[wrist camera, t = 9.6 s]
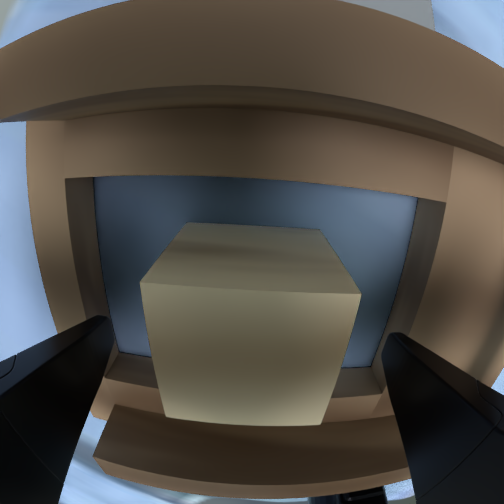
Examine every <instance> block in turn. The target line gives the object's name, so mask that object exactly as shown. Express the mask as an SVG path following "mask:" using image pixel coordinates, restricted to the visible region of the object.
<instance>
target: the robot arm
mask: <svg viewBox="0 0 504 504" xmlns="http://www.w3.org/2000/svg"><path fill="white" fill-rule="evenodd" d="M113 345H114V333H113V329H112V325H111V320H110V318H109V317H108V316H103V315H96V316H94V317H92V318H90V319H87V320H85V321H83V322H81V323H79V324H77V325H75V326H73V327H71V328H69V329H67V330H65V331H63V332H61V333H59V334H57V335H54V336H52V337H50V338H48V339H46V340H44V341H42V342H40V343H38V344H36V345H34V346H32V347H30V348H28V349H26V350H24V351H22V352H20V353H18V354H17V355H14V356H12V357H10V358H8V359H5V360H3V361H1V362H0V504H58V502H59V499H60V495H61V492H62V489H63V485H64V484H63V483H64V481H65V478H66V475H67V472H68V469H69V466H70V463H71V460H72V457H73V454H74V451H75V449H76V446H77V443H78V440H79V437H80V435H81V432H82V429H83V427H84V424H85V422H86V419H87V416H88V414H89V411H90V409H91V406H92V404H93V402H94V399H95V397H96V394H97V392H98V390H99V387H100V385H101V382H102V380H103V377H104V374H105V370H106V367H107V364H108V361H109V357H110V354H111V351H112V348H113ZM381 360H382V365H383V369H384V374H385V379H386V384H387V389H388V394H389V398H390V401H391V405H392V408H393V411H394V415H395V418H396V421H397V425H398V428H399V432H400V436H401V439H402V443H403V447H404V451H405V454H406V458H407V462H408V467H409V471H410V475H411V479H412V484H413V488H414V493H415V498H416V500H417V501H416V504H504V395H502V394H500V393H499V392H497V391H495V390H493V389H492V388H490V387H488V386H487V385H485V384H483V383H482V382H480V381H479V380H476V378H474V377H472V376H471V375H469V374H468V373H466V372H464V371H463V370H461V369H460V368H458V367H456V366H455V365H453V364H452V363H450V362H448V361H447V360H445V359H444V358H442V357H440V356H439V355H437V354H436V353H434V352H432V351H431V350H429V349H427V348H426V347H424V346H423V345H421V344H419V343H418V342H416V341H415V340H413V339H411V338H410V337H408V336H406V335H405V334H403V333H402V332H391V333H389V334H388V336H387V339H386V341H385V344H384V347H383V349H382V352H381ZM308 504H388V501H387V497H386V493H385V487H384V486H379V487H375V488H370V489H365V490H360V491H354V492H348V493H341V494H334V495H326V496H316V497H308Z"/></svg>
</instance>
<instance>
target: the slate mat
mask: <svg viewBox="0 0 504 504" xmlns="http://www.w3.org/2000/svg"><path fill="white" fill-rule="evenodd" d="M339 1H344V2H348V3H352V4H357V5H360V6H364V7H368V8H372V9H375V10H378V11H382V12H385V13H388V14H391V15H394V16H397V17H400V18H403V19H406V20H408V21H411V22H414V23H416V24H419V25H421V26H424V27H426V28H429V29H431V30H433V31H435V26H434V17H433V10H432V3H431V0H339Z"/></svg>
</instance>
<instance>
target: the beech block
mask: <svg viewBox="0 0 504 504" xmlns="http://www.w3.org/2000/svg"><path fill="white" fill-rule="evenodd" d="M140 289H141V296H142V303H143V310H144V316H145V322H146V328H147V334H148V340H149V345H150V350H151V355H152V360H153V365H154V370H155V374H156V379H157V383H158V387H159V392H160V396H161V400H162V404H163V408H164V411H165V415H166V417H170V418H177V419H184V420H192V421H200V422H209V423H220V424H234V425H254V426H305V425H320V424H321V422H322V419H323V417H324V414H325V411H326V409H327V406H328V403H329V401H330V398H331V395H332V392H333V390H334V387H335V384H336V381H337V378H338V375H339V372H340V369H341V366H342V363H343V360H344V356H345V353H346V350H347V347H348V343H349V340H350V336H351V333H352V329H353V326H354V322H355V318H356V315H357V311H358V307H359V303H360V299H361V295H362V294H361V292H360V290H359V289H358V287H357V286H356V284H355V282H354V281H353V279H352V278H351V276H350V274H349V273H348V271H347V270H346V268H345V267H344V265H343V264H342V262H341V260H340V259H339V257H338V256H337V254H336V253H335V251H334V250H333V248H332V247H331V245H330V244H329V242H328V241H327V239H326V238H325V236H324V235H323V233H322V232H321V230H320V229H305V228H289V227H273V226H255V225H236V224H215V223H192V222H187V223H186V224H185V225H184V226H183V228H182V229H181V230H180V231H179V232H178V234H177V235H176V236H175V237H174V239H173V240H172V241H171V242H170V244H169V245H168V246H167V247H166V249H165V250H164V251H163V252H162V254H161V255H160V256H159V258H158V259H157V260H156V261H155V263H154V264H153V265H152V267H151V268H150V269H149V270H148V272H147V273H146V274H145V276H144V277H143V278H142V280H141V281H140Z"/></svg>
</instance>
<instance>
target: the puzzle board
mask: <svg viewBox="0 0 504 504" xmlns="http://www.w3.org/2000/svg"><path fill="white" fill-rule="evenodd" d="M18 121H26V169H27V186H28V198H29V207H30V216H31V223H32V230H33V236H34V242H35V248H36V253H37V258H38V263H39V268H40V272H41V277H42V281H43V285H44V289H45V293H46V296H47V300H48V304H49V307H50V310H51V314H52V317H53V320H54V323H55V326H56V330H57V332H58V334H59V333H61V332H63V331H65V330H67V329H69V328H71V327H73V326H75V325H77V324H79V323H81V322H83V321H85V320H87V319H90V318H92V317H94V316H96V315H103V316H108V317H109V318H110V320H111V317H110V312H109V308H108V303H107V298H106V292H105V287H104V281H103V275H102V268H101V262H100V254H99V247H98V238H97V229H96V218H95V206H94V190H93V177H99V176H132V175H185V176H220V177H241V178H258V179H272V180H285V181H297V182H308V183H318V184H327V185H336V186H345V187H353V188H361V189H368V190H375V191H382V192H389V193H395V194H402V195H408V196H414V197H418V202H417V208H416V214H415V219H414V224H413V229H412V234H411V238H410V243H409V247H408V251H407V256H406V260H405V264H404V268H403V271H402V275H401V279H400V282H399V286H398V289H397V293H396V296H395V300H394V303H393V306H392V309H391V312H390V315H389V318H388V321H387V324H386V327H385V330H384V333H383V336H382V339H381V341H380V344H379V347H378V350H377V352H376V355H375V357H374V360H373V362H372V365H371V367H361V368H341V369H340V372H339V375H338V378H337V381H336V384H335V387H334V390H333V392H332V395H331V398H330V401H329V403H328V406H327V409H326V411H325V414H324V417H323V419H322V422H321V424H320V425H305V426H254V425H234V424H220V423H209V422H200V421H192V420H184V419H177V418H170V417H166V415H165V411H164V408H163V404H162V400H161V396H160V392H159V387H158V383H157V379H156V374H155V370H154V365H153V360H152V358H150V357H144V356H137V355H132V354H126V353H120V352H119V351H118V347H117V343H116V339H115V335H114V345H113V348H112V351H111V354H110V357H109V361H108V364H107V367H106V370H105V374H104V377H103V380H102V382H101V385H100V387H99V390H98V392H97V394H96V397H95V399H94V402H93V404H92V406H91V409H90V411H91V413H92V415H93V417H96V418H99V419H103V420H106V421H107V423H106V425H105V428H104V430H103V432H102V435H101V437H100V439H99V442H98V444H97V447H96V449H95V452H94V454H93V458H94V459H95V460H96V462H97V463H98V464H99V466H100V467H101V468H102V470H103V471H104V472H105V473H106V474H108V475H111V476H114V477H118V478H121V479H125V480H128V481H132V482H136V483H140V484H144V485H148V486H153V487H157V488H162V489H167V490H173V491H178V492H185V493H191V494H199V495H207V496H217V497H229V498H248V499H285V498H304V497H316V496H326V495H334V494H341V493H348V492H354V491H360V490H365V489H370V488H375V487H379V486H384V485H388V484H392V483H396V482H400V481H404V480H407V479H411V475H410V471H409V467H408V462H407V458H406V454H405V451H404V447H403V443H402V439H401V436H400V432H399V428H398V425H397V421H396V418H395V415H394V411H393V408H392V405H391V401H390V398H389V394H388V389H387V384H386V379H385V374H384V369H383V365H382V360H381V352H382V349H383V347H384V344H385V341H386V339H387V336H388V334H389V333H391V332H402V333H403V334H405V335H406V336H408V337H410V338H411V339H413V340H415V341H416V342H418V343H419V344H421V345H423V346H424V347H426V348H427V349H429V350H431V351H432V352H434V353H436V354H437V355H439V356H440V357H442V358H444V359H445V360H447V361H448V362H450V363H452V364H453V365H455V366H456V367H458V368H460V369H461V370H463V371H464V372H466V373H468V374H469V375H471V376H472V377H474V378H476V380H479V381H480V382H482V383H483V384H485V385H487V386H488V387H490V388H491V387H492V385H493V384H494V382H495V381H496V379H497V377H498V376H499V374H500V372H501V371H502V369H503V367H504V68H502V67H501V66H499V65H498V64H496V63H494V62H493V61H491V60H489V59H488V58H486V57H484V56H483V55H481V54H479V53H478V52H476V51H474V50H472V49H470V48H468V47H467V46H465V45H463V44H461V43H459V42H457V41H455V40H453V39H451V38H449V37H447V36H444V35H442V34H440V33H438V32H436V31H433V30H431V29H429V28H426V27H424V26H421V25H419V24H416V23H414V22H411V21H408V20H406V19H403V18H400V17H397V16H394V15H391V14H388V13H385V12H382V11H378V10H375V9H372V8H368V7H364V6H360V5H357V4H352V3H348V2H344V1H339V0H129V1H125V2H120V3H116V4H112V5H108V6H105V7H101V8H97V9H94V10H91V11H87V12H84V13H81V14H78V15H75V16H72V17H69V18H67V19H64V20H61V21H59V22H56V23H53V24H51V25H49V26H46V27H44V28H41V29H39V30H37V31H35V32H32V33H30V34H28V35H26V36H24V37H22V38H20V39H18V40H16V41H14V42H12V43H10V44H8V45H6V46H4V47H3V48H1V49H0V123H2V122H18ZM111 325H112V322H111ZM112 329H113V326H112ZM113 333H114V330H113Z"/></svg>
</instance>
